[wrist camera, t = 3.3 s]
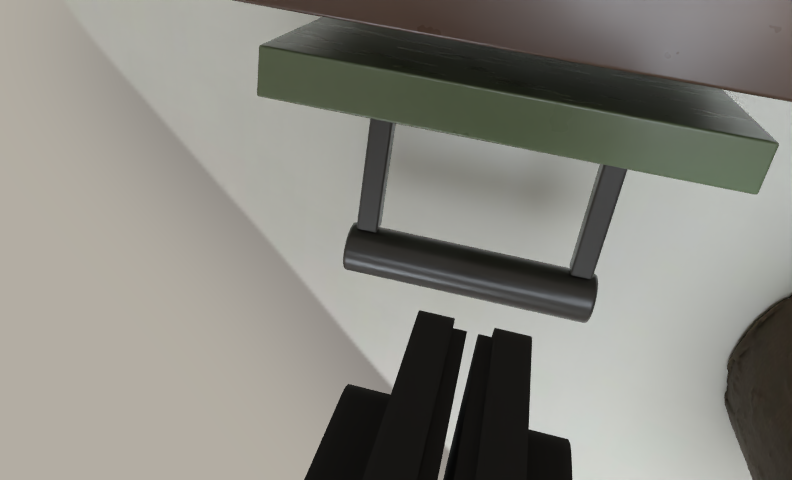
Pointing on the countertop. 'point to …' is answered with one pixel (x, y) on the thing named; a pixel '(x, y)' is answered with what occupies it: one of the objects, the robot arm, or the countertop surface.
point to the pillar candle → (764, 394)
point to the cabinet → (604, 33)
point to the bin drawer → (508, 142)
